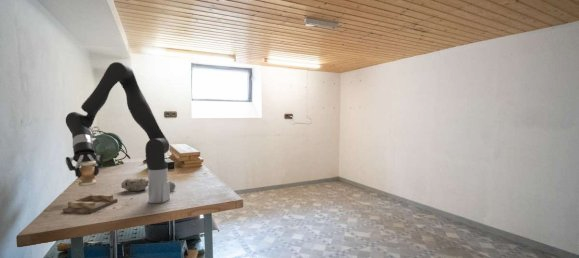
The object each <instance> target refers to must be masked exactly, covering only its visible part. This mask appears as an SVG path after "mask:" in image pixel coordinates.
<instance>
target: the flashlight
mask: <svg viewBox="0 0 579 258" xmlns="http://www.w3.org/2000/svg"><path fill="white" fill-rule="evenodd" d="M168 182H170V192H173V191H174V190H176V184H175V183H174V182H172V181H169V180H168Z"/></svg>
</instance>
